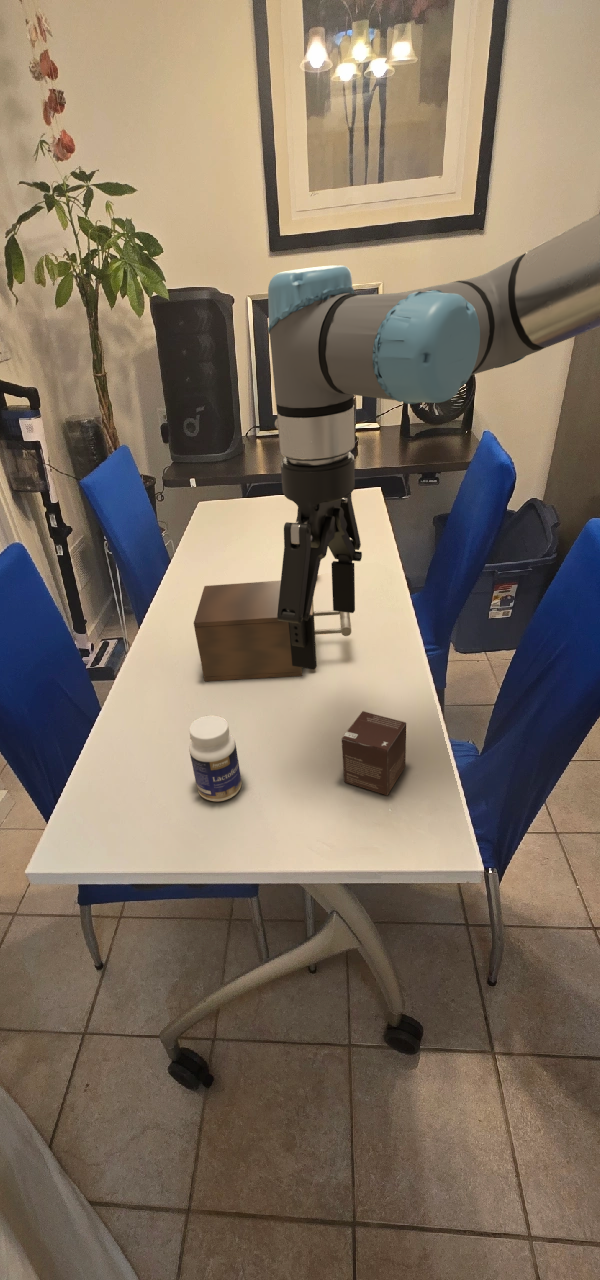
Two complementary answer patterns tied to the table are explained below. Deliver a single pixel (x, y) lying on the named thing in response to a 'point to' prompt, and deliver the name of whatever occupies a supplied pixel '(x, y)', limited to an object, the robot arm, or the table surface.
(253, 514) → the table surface
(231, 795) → the pill bottle
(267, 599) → the cabinet
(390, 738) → the box
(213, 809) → the table surface
